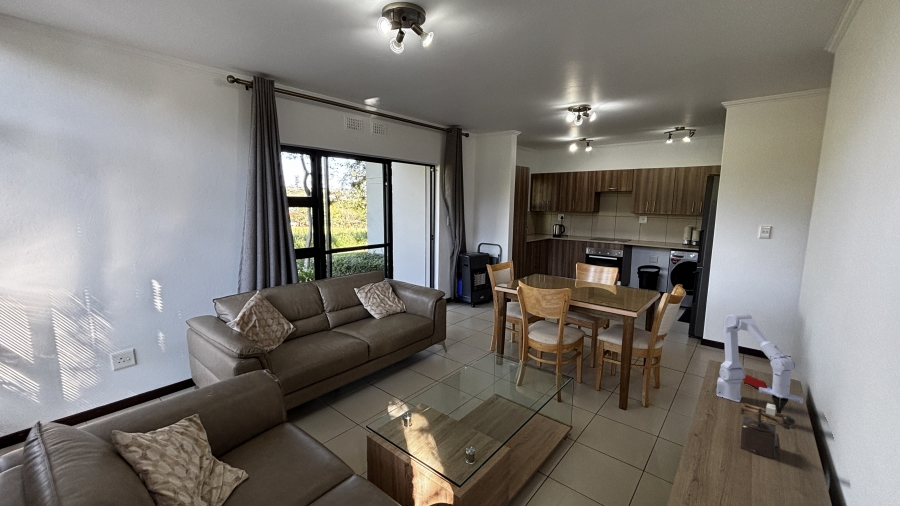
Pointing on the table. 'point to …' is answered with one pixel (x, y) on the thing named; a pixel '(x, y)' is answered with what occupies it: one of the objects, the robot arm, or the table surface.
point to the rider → (770, 409)
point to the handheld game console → (755, 382)
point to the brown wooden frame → (753, 410)
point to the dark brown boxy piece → (761, 434)
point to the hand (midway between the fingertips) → (778, 412)
